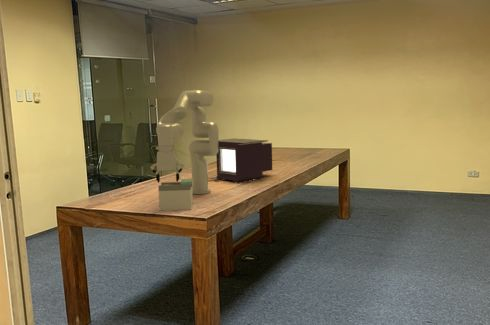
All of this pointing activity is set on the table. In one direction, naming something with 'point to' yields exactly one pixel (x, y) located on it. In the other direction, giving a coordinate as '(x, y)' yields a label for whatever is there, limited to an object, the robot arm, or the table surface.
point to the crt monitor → (243, 159)
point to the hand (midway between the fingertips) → (168, 181)
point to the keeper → (185, 181)
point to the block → (175, 196)
